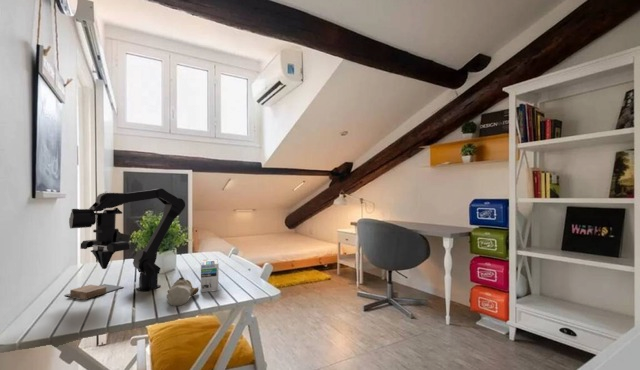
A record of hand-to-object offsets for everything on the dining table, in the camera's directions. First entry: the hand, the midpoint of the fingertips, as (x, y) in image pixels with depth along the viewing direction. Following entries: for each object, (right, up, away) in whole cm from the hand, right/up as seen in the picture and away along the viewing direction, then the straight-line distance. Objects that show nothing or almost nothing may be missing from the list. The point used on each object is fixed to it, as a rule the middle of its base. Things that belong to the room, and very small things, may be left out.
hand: (104, 268), depth 107 cm
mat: (-9, -11, +7) cm, 16 cm away
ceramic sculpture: (+30, -11, -3) cm, 32 cm away
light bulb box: (+34, -12, +12) cm, 38 cm away
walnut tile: (-4, -9, +1) cm, 10 cm away
